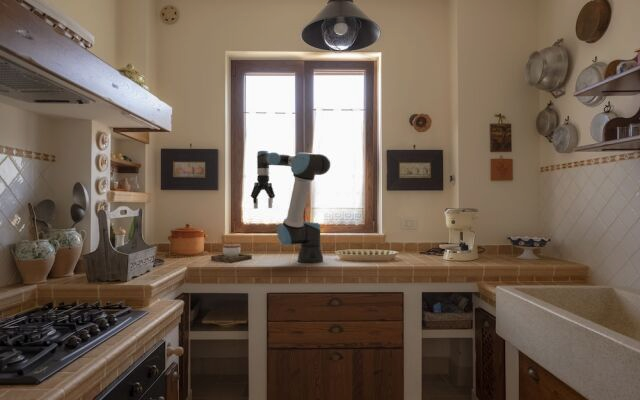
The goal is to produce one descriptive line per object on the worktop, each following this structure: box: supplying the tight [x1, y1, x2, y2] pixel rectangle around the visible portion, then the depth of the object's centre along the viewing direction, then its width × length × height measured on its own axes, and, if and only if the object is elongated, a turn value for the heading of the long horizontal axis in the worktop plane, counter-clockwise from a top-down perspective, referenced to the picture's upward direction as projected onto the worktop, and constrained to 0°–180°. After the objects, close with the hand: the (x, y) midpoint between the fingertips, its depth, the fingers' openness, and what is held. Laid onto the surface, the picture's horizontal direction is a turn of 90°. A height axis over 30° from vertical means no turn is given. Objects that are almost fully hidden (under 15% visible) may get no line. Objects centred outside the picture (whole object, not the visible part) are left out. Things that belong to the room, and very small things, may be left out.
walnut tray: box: [210, 253, 253, 264], centre depth 237 cm, size 17×17×2 cm
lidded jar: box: [222, 241, 242, 258], centre depth 237 cm, size 11×11×9 cm
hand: (263, 208), depth 252 cm, fingers open, 13 cm apart
